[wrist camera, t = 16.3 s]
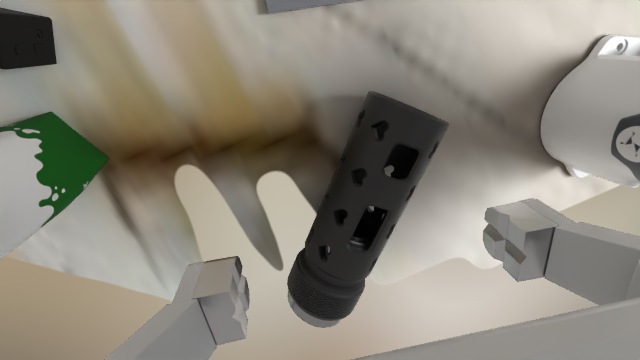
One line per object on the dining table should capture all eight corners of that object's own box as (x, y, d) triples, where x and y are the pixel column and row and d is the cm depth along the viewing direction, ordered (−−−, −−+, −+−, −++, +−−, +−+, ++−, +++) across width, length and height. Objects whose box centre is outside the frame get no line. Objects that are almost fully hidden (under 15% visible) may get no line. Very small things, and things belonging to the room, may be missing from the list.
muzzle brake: (424, 110, 39) (470, 133, 30) (339, 280, 49) (354, 338, 39) (355, 83, 37) (383, 98, 27) (280, 268, 46) (282, 326, 37)
